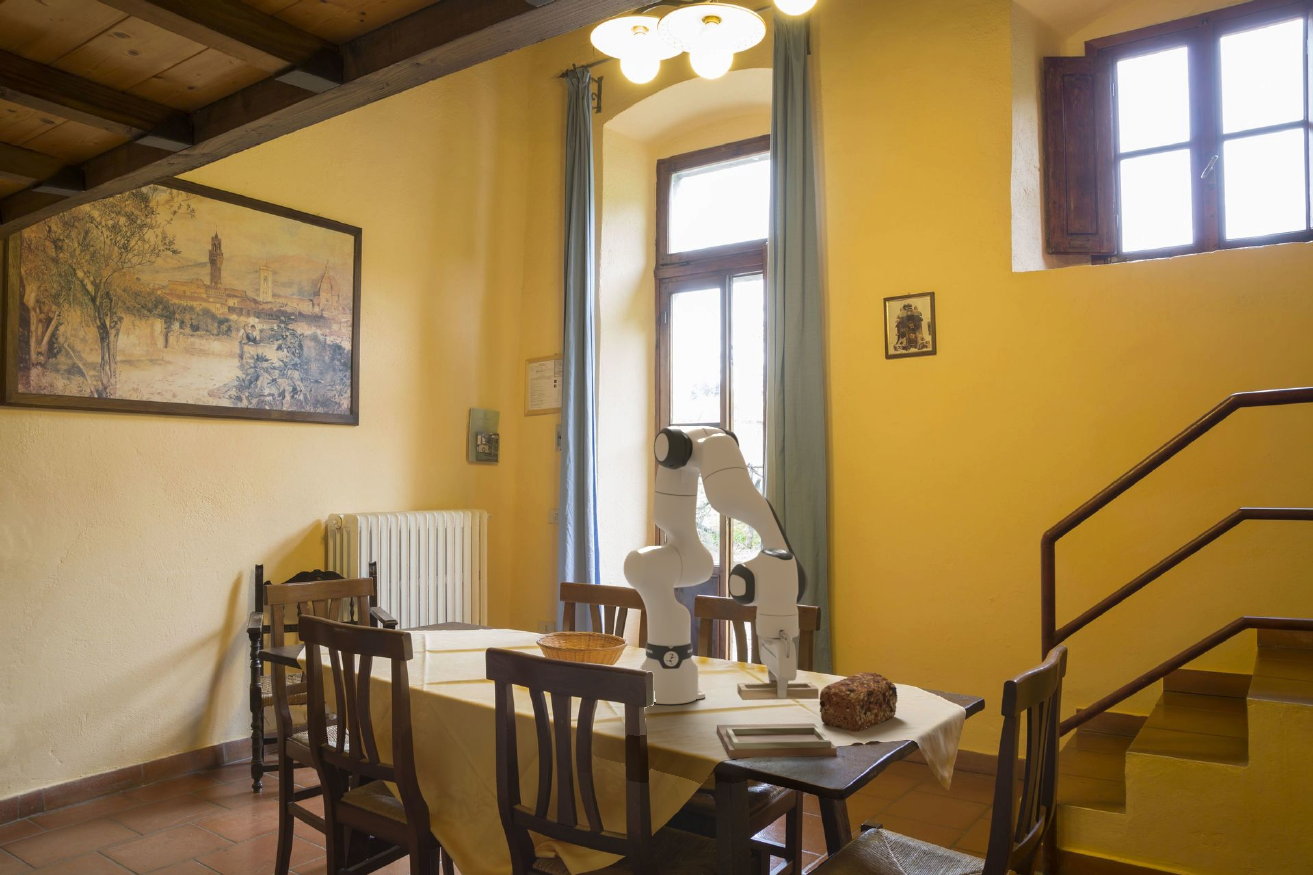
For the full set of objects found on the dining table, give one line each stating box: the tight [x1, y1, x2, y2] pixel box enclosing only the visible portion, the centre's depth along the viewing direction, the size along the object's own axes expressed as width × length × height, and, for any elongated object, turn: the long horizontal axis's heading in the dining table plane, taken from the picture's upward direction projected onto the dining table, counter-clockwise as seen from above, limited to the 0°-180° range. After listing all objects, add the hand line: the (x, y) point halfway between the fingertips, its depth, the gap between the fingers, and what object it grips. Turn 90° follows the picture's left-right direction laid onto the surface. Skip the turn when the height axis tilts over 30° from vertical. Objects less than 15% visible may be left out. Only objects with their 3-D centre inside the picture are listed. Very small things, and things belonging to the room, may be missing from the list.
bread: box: [819, 671, 898, 732], centre depth 205 cm, size 19×11×10 cm, turn 135°
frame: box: [736, 681, 820, 701], centre depth 184 cm, size 6×16×2 cm, turn 95°
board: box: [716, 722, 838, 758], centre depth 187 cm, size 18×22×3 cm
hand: (777, 693), depth 184 cm, fingers closed on frame, 6 cm apart
